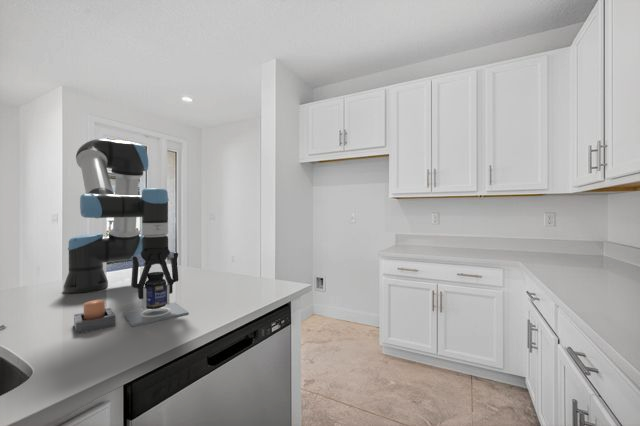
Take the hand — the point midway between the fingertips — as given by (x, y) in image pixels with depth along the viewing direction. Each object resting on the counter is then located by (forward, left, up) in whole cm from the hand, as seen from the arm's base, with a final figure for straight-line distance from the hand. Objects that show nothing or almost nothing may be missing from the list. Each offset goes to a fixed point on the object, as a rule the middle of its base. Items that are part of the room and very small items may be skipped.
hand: (155, 305), depth 98 cm
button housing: (-2, -16, -3) cm, 16 cm away
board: (0, 0, -3) cm, 3 cm away
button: (-2, -16, -1) cm, 16 cm away
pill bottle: (0, 0, -1) cm, 1 cm away
